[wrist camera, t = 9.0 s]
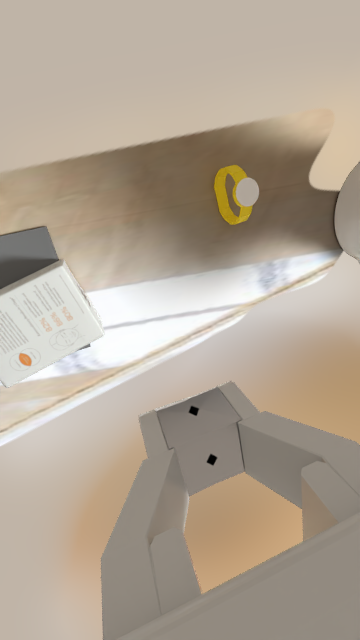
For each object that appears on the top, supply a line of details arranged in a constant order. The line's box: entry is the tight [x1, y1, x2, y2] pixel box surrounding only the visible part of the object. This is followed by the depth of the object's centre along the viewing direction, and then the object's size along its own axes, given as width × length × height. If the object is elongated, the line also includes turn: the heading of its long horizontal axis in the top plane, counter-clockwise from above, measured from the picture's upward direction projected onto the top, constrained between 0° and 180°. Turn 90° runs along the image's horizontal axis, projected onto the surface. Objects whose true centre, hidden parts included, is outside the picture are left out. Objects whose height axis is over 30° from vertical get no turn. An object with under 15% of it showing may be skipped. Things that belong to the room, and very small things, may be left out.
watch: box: [214, 165, 259, 225], centre depth 31 cm, size 6×3×6 cm, turn 17°
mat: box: [0, 227, 90, 351], centre depth 30 cm, size 13×14×1 cm
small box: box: [0, 259, 104, 388], centre depth 28 cm, size 8×6×10 cm
